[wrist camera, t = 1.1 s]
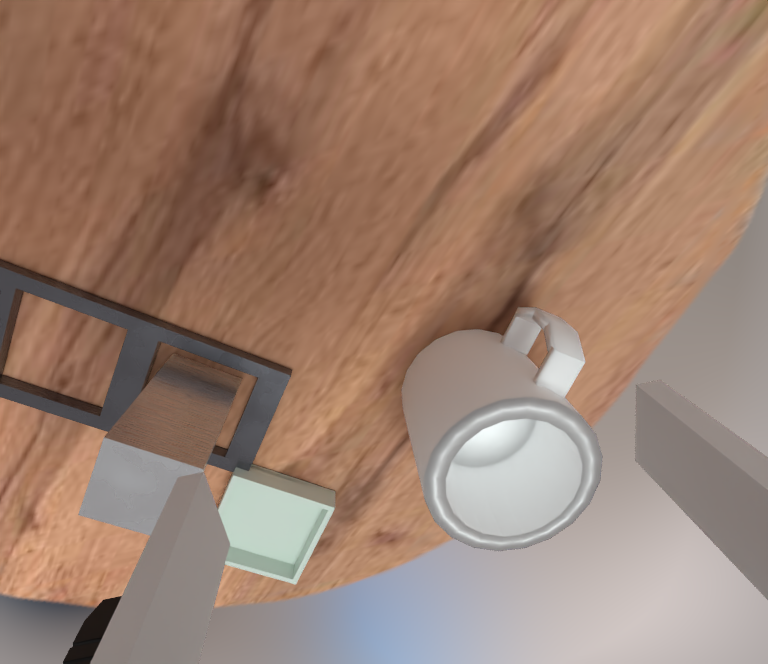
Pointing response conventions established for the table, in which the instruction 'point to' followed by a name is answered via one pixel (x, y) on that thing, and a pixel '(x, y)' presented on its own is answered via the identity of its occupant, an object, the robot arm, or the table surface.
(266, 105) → the table surface
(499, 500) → the mug
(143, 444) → the grey rectangular block
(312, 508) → the tray
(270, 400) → the double window frame
